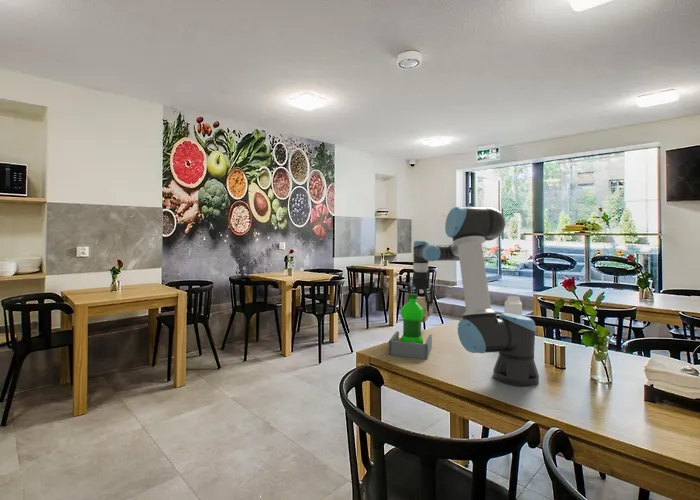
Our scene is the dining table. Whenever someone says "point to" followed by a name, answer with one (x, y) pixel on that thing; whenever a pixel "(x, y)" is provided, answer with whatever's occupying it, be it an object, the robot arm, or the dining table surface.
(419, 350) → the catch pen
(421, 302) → the scraper
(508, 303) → the milk
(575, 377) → the dining table surface
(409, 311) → the plastic bottle
